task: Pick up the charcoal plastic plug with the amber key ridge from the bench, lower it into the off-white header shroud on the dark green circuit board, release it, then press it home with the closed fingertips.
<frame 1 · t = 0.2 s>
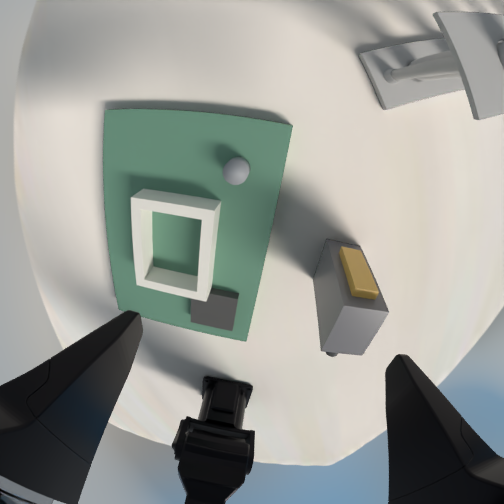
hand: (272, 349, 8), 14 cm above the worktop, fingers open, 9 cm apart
plug: (336, 263, 22), on the worktop
board: (183, 233, 22), on the worktop
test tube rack: (482, 60, 11), on the worktop
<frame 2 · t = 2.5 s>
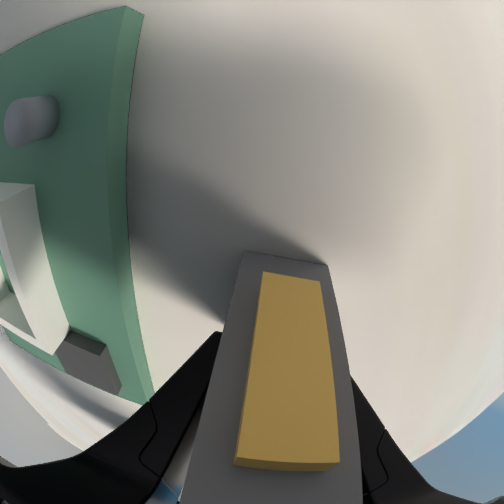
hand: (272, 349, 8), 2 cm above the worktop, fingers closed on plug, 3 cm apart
plug: (275, 301, 10), on the worktop, touching gripper
board: (28, 244, 11), on the worktop
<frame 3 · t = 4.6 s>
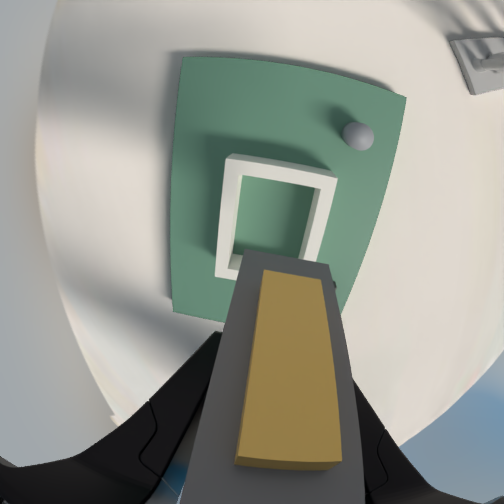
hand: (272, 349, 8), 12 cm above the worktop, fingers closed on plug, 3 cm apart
plug: (276, 300, 10), point 10 cm above the worktop, touching gripper
board: (272, 212, 19), on the worktop
when the fingers open (4 cm above the worktop, at t = 6.7 s): plug stays where it is, resting on board.
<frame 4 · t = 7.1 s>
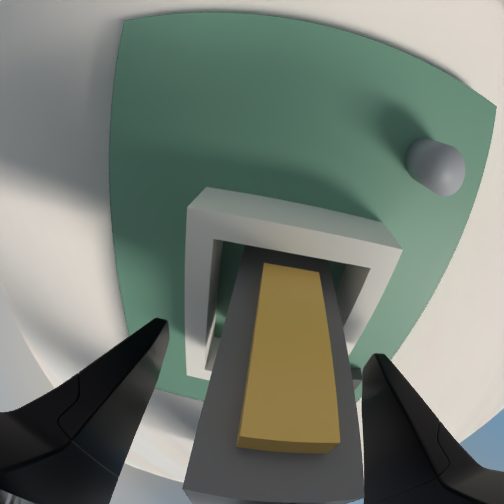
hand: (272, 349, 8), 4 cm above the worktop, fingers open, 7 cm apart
plug: (276, 294, 11), point 1 cm above the worktop, touching board
board: (276, 278, 12), on the worktop
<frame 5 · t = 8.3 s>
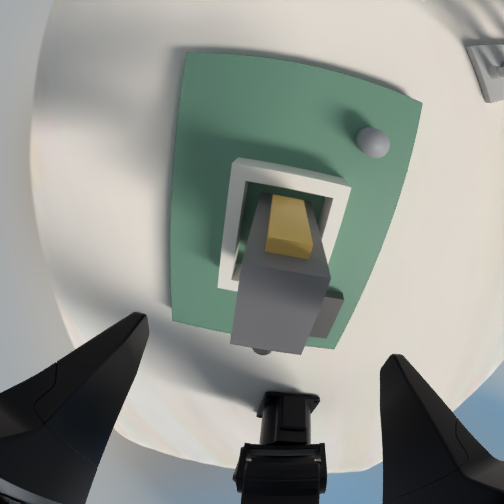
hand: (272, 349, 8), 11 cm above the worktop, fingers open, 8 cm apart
plug: (279, 226, 17), point 1 cm above the worktop, touching board
board: (279, 220, 18), on the worktop
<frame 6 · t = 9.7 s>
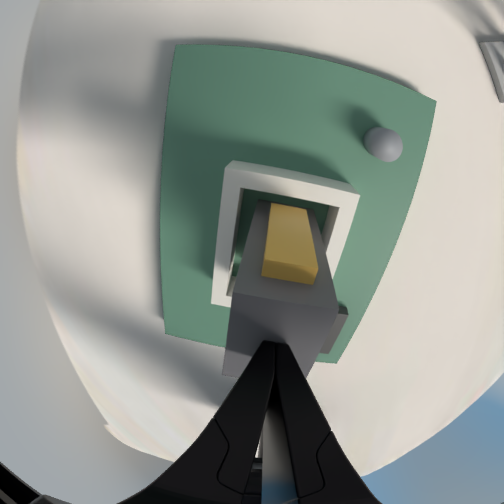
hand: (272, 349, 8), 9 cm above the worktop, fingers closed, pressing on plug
plug: (279, 237, 15), point 1 cm above the worktop, touching board, gripper
board: (278, 229, 16), on the worktop
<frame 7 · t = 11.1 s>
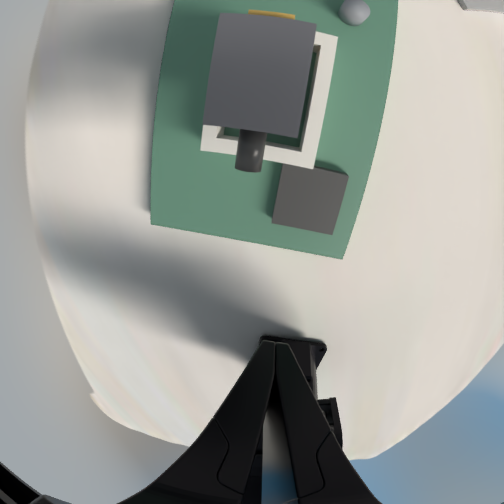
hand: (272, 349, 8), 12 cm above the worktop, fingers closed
plug: (269, 90, 14), point 1 cm above the worktop, touching board
board: (270, 93, 15), on the worktop
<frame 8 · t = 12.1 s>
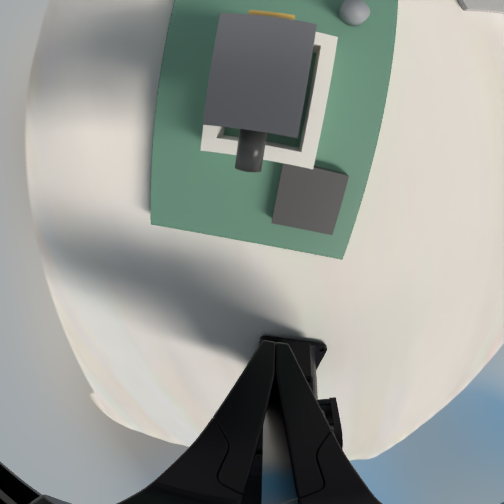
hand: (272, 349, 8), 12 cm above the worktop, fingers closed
plug: (269, 91, 14), point 1 cm above the worktop, touching board
board: (270, 93, 15), on the worktop
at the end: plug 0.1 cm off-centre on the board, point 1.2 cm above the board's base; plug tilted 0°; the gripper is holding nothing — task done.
